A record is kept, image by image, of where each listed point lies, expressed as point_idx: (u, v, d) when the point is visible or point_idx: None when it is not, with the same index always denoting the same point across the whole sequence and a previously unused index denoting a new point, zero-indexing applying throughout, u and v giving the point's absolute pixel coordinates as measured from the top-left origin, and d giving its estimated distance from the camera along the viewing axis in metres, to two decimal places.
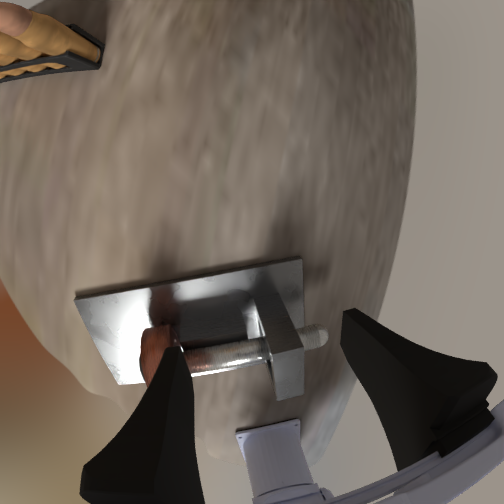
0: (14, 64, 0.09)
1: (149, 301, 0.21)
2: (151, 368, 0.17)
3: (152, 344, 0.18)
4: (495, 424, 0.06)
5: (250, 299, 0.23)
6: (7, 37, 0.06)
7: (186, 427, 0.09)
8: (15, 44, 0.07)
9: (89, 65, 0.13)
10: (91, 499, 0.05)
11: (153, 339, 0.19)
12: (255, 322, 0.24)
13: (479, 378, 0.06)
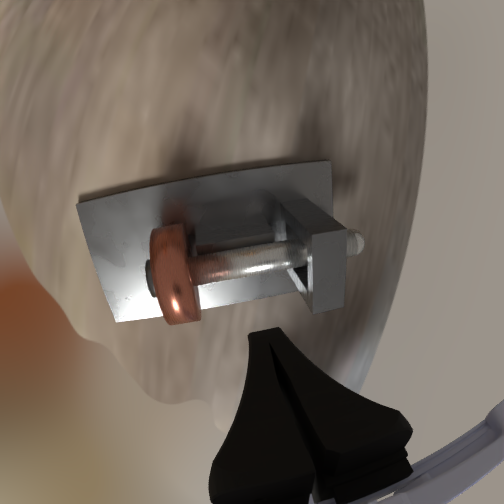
0: None
1: (163, 202, 0.19)
2: (161, 260, 0.15)
3: (165, 235, 0.16)
4: (495, 424, 0.06)
5: (276, 204, 0.21)
6: None
7: None
8: None
9: None
10: (224, 499, 0.05)
11: (166, 231, 0.16)
12: (280, 234, 0.22)
13: (377, 432, 0.05)
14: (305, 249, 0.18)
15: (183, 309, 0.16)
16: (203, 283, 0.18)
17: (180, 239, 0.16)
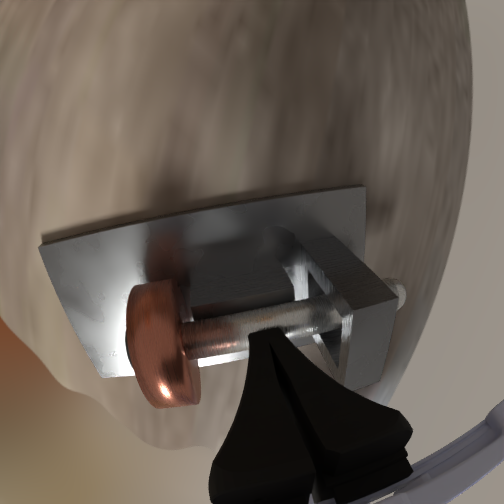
0: None
1: (145, 245, 0.14)
2: (143, 343, 0.10)
3: (146, 304, 0.11)
4: (495, 424, 0.06)
5: (295, 244, 0.16)
6: None
7: None
8: None
9: None
10: (224, 499, 0.05)
11: (148, 296, 0.12)
12: (299, 281, 0.17)
13: (377, 432, 0.05)
14: (335, 313, 0.13)
15: (177, 400, 0.11)
16: None
17: (167, 312, 0.11)
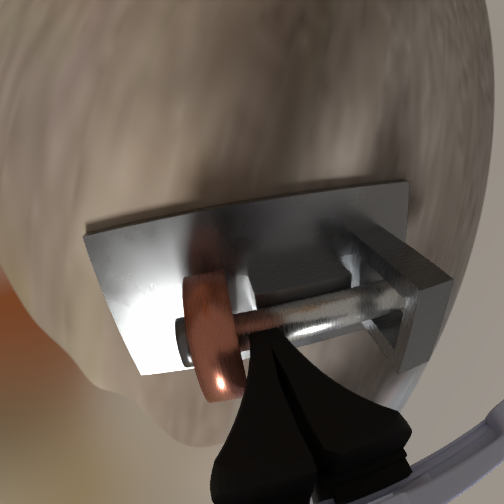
0: None
1: (205, 234, 0.15)
2: (204, 335, 0.11)
3: (204, 294, 0.11)
4: (495, 424, 0.06)
5: (347, 234, 0.16)
6: None
7: None
8: None
9: None
10: (226, 499, 0.05)
11: (204, 287, 0.12)
12: (348, 270, 0.17)
13: (376, 433, 0.05)
14: (379, 300, 0.13)
15: (234, 392, 0.11)
16: None
17: (228, 302, 0.11)
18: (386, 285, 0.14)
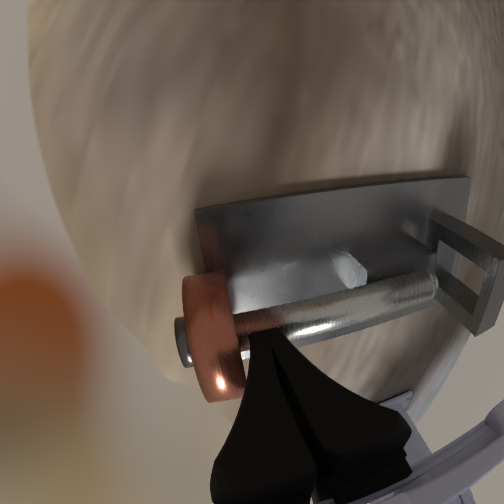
0: None
1: (320, 214, 0.15)
2: (204, 335, 0.11)
3: (204, 294, 0.11)
4: (495, 424, 0.06)
5: (426, 220, 0.17)
6: None
7: None
8: None
9: None
10: (226, 499, 0.05)
11: (205, 287, 0.12)
12: None
13: (376, 433, 0.05)
14: (379, 301, 0.13)
15: (234, 392, 0.11)
16: None
17: (228, 302, 0.11)
18: (386, 286, 0.14)
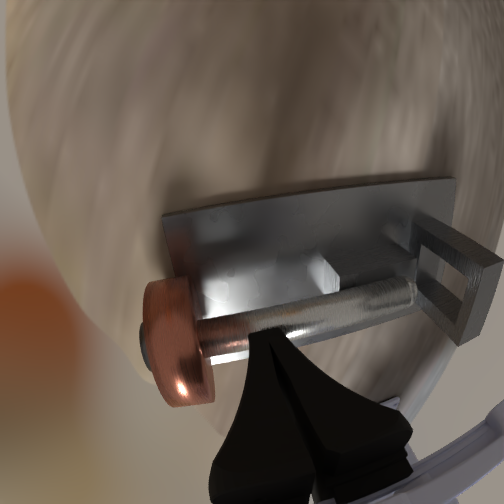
0: None
1: (291, 218, 0.15)
2: (161, 341, 0.10)
3: (164, 300, 0.11)
4: (495, 424, 0.06)
5: (408, 223, 0.16)
6: None
7: None
8: None
9: None
10: (224, 499, 0.05)
11: (165, 293, 0.12)
12: None
13: (377, 432, 0.05)
14: (350, 309, 0.13)
15: (194, 398, 0.11)
16: (218, 355, 0.13)
17: (186, 309, 0.11)
18: (358, 293, 0.14)
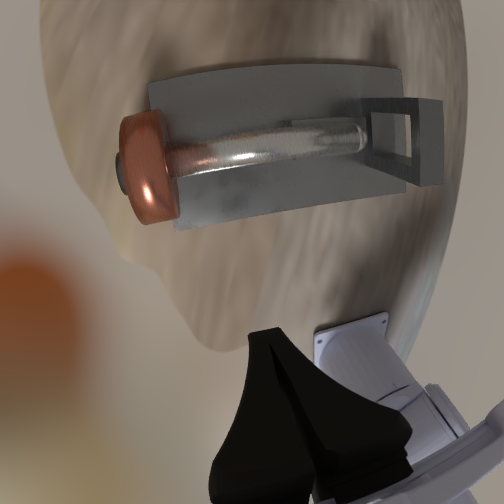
0: None
1: (249, 83, 0.17)
2: (132, 132, 0.12)
3: (139, 114, 0.13)
4: (495, 424, 0.06)
5: (358, 99, 0.18)
6: None
7: None
8: None
9: None
10: (224, 499, 0.05)
11: (142, 112, 0.13)
12: None
13: (377, 432, 0.05)
14: (299, 134, 0.15)
15: (153, 188, 0.13)
16: (181, 172, 0.15)
17: (155, 113, 0.13)
18: (307, 126, 0.15)
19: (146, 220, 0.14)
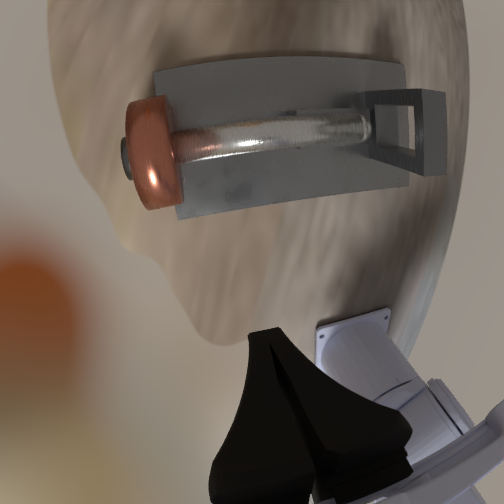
0: None
1: (255, 74, 0.16)
2: (138, 115, 0.12)
3: (146, 99, 0.13)
4: (495, 424, 0.06)
5: (361, 92, 0.18)
6: None
7: None
8: None
9: None
10: (224, 499, 0.05)
11: None
12: None
13: (377, 432, 0.05)
14: (304, 122, 0.15)
15: (158, 171, 0.12)
16: (186, 157, 0.14)
17: (162, 98, 0.12)
18: (312, 115, 0.15)
19: (150, 204, 0.14)
